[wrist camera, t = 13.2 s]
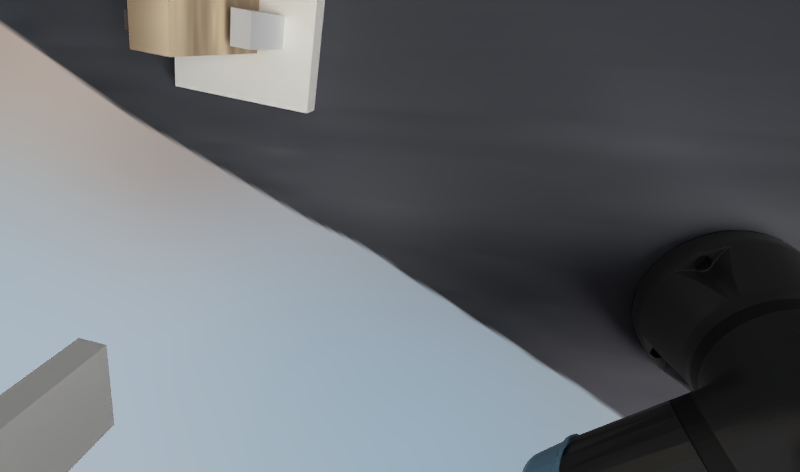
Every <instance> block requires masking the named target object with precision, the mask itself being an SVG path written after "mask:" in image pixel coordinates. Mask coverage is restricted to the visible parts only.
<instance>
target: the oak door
mask: <svg viewBox="0 0 800 472" xmlns="http://www.w3.org/2000/svg"><path fill="white" fill-rule="evenodd" d="M231 7H235V8H242V9H248V10H255V11H259V0H127V9H124V24H125V30H127V31H129V42H130V49H132V50H137V51H142V52H147V53H152V54H156V55H161V56H166V57H184V56H207V55H231V54H254V53H257V50H248V49H243V48H238V47H233V46H230V18H231Z"/></svg>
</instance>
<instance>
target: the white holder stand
mask: <svg viewBox="0 0 800 472" xmlns="http://www.w3.org/2000/svg"><path fill="white" fill-rule="evenodd" d="M324 5H325V0H259V11H255V10H248V9H242V8H235V7H231V18H230V46H233V47H238V48H243V49H248V50H257V53H254V54H231V55H207V56H184V57H175V86H177V87H182V88H187V89H192V90H197V91H201V92H206V93H211V94H216V95H221V96H225V97H230V98H235V99H240V100H244V101H249V102H254V103H259V104H264V105H268V106H273V107H278V108H283V109H288V110H292V111H297V112H302V113H309V112H312V111H314V108H315V97H316V87H317V77H318V66H319V56H320V46H321V36H322V25H323V15H324Z"/></svg>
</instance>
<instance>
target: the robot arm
mask: <svg viewBox="0 0 800 472" xmlns="http://www.w3.org/2000/svg"><path fill="white" fill-rule="evenodd" d="M632 321H633V326H634V329H635V332H636V335H637V337H638V339H639V340H640V342H641V344H642V346H643V348H644V349H645V351H646V353H647V354H648V356H649V357H650V358H651V359H652V361H653V362H654V363H655V364H656V365H657V366H658V367H659V368H660V369H662V370H663V371H664V372H665V373H667V374H668V375H670V376H671V377H672V378H674V379H675V380H676V381H678V382H679V383H681V384H682V385H683V386H685V387H686V388H687V389H689V390H690V391H692V392H690V393H687V394H685V395H682V396H680V397H677V398H675V399H672V400H669V401H666V402H664V403H661V404H658V405H656V406H653V407H651V408H648V409H645V410H643V411H640V412H638V413H635V414H633V415H630V416H627V417H625V418H622V419H620V420H617V421H614V422H612V423H609V424H607V425H604V426H602V427H599V428H596V429H594V430H591V431H589V432H586V433H583V434H581V435H578V434H573V435H570V436H568V437H567V438H566V439H565V440H564V441H563V442H561V443H559V444H557V445H555V446H553V447H550V448H548V449H546V450H544V451H542V452H540V453H538V454H536V455H534V456H533V457H532V458H531V459H530V460H529V461H528V462H527V464H526V465H525V467H524V469H523V472H800V252H799V251H798V250H796V249H795V248H793V247H792V246H790V245H788V244H787V243H785V242H783V241H781V240H779V239H777V238H775V237H772V236H769V235H766V234H762V233H757V232H750V231H725V232H718V233H713V234H708V235H705V236H701V237H698V238H695V239H693V240H690V241H688V242H686V243H684V244H682V245H680V246H678V247H676V248H675V249H673V250H671V251H670V252H668V253H667V254H666V255H664V256H663V257H662V258H661V259H659V260H658V261H657V262H656V263H655V264H654V265H653V266H652V267H651V268H650V270H649V271H648V272H647V273H646V275H645V276H644V277H643V279H642V281H641V282H640V284H639V286H638V288H637V291H636V293H635V296H634V300H633V305H632ZM113 425H114V419H113V408H112V398H111V389H110V378H109V369H108V358H107V349H106V345H104V344H99V343H96V342H92V341H88V340H84V339H80V338H78V339H77V340H76V341H74V342H73V343H72V344H70V345H69V346H68V347H66V348H65V349H63V350H62V351H61V352H59V353H58V354H56V355H55V356H54V357H52V358H51V359H49V360H48V361H47V362H45V363H44V364H42V365H41V366H40V367H38V368H37V369H36V370H34V371H33V372H31V373H30V374H29V375H27V376H26V377H25V378H23V379H22V380H21V381H19V382H18V383H16V384H15V385H14V386H12V387H11V388H9V389H8V390H7V391H5V392H4V393H2V394H1V395H0V472H68V471H69V470H70V469H71V468H72V467H73V466H74V465H75V464H76V463H77V462H78V461H79V460H80V459H81V458H82V457H83V456H84V455H85V454H86V453H87V452H88V450H89V449H90V448H91V447H92V446H93V445H94V444H95V443H96V442H97V441H98V440H99V439H100V438H101V437H102V436H103V435H104V434H105V433H106V432H107V431H108V430H109V429H110V428H111V427H112V426H113Z"/></svg>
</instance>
